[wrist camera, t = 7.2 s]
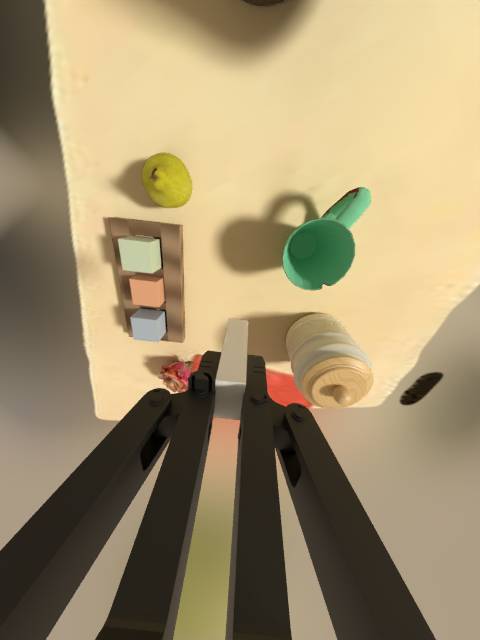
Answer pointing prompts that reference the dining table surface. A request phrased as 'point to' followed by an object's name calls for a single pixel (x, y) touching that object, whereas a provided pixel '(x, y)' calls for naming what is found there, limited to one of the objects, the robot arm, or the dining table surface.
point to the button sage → (140, 254)
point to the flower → (176, 376)
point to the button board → (169, 270)
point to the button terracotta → (147, 290)
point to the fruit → (167, 180)
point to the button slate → (148, 325)
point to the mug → (325, 243)
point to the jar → (327, 362)
